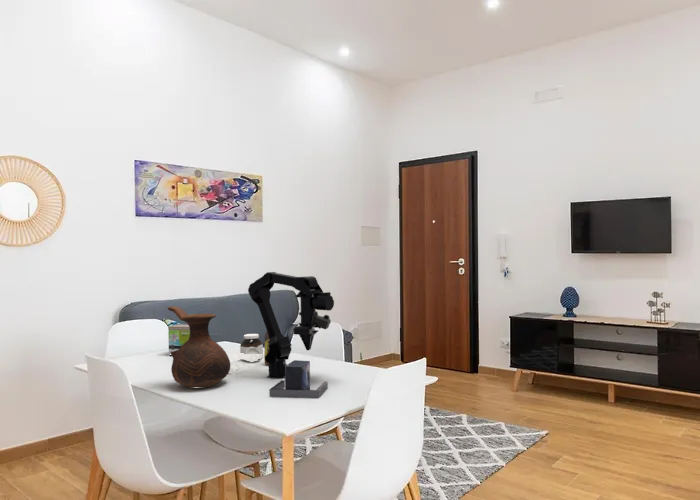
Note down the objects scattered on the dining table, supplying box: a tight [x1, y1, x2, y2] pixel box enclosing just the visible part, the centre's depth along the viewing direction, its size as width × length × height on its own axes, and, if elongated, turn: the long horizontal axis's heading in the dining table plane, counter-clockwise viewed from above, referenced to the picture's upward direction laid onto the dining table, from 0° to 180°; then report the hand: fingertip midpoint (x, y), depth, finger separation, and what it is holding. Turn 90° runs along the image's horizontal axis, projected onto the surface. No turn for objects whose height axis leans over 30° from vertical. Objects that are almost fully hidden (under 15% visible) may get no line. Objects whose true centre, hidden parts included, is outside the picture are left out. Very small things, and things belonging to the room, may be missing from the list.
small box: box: [284, 359, 311, 390], centre depth 193 cm, size 11×6×10 cm, turn 168°
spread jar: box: [239, 333, 264, 355], centre depth 253 cm, size 12×11×12 cm
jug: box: [167, 305, 231, 388], centre depth 209 cm, size 22×22×30 cm
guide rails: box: [268, 379, 329, 399], centre depth 193 cm, size 17×13×2 cm
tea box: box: [167, 323, 190, 355], centre depth 272 cm, size 15×10×15 cm, turn 81°
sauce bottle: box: [263, 331, 270, 366], centre depth 243 cm, size 6×6×20 cm
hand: (308, 349), depth 211 cm, fingers closed
